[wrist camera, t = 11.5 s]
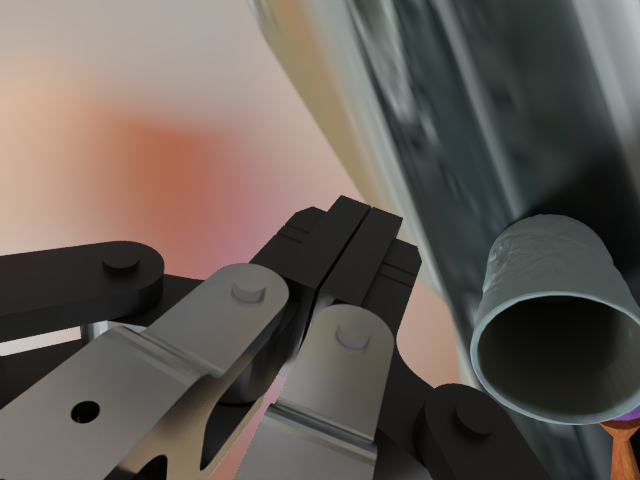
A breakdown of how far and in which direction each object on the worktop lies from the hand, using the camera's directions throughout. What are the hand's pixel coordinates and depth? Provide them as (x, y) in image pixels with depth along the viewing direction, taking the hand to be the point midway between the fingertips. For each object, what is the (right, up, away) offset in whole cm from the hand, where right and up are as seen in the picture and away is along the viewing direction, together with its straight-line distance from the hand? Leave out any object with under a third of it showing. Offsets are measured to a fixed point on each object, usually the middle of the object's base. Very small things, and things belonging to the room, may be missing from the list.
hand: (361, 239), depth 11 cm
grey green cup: (+17, -2, +27) cm, 32 cm away
